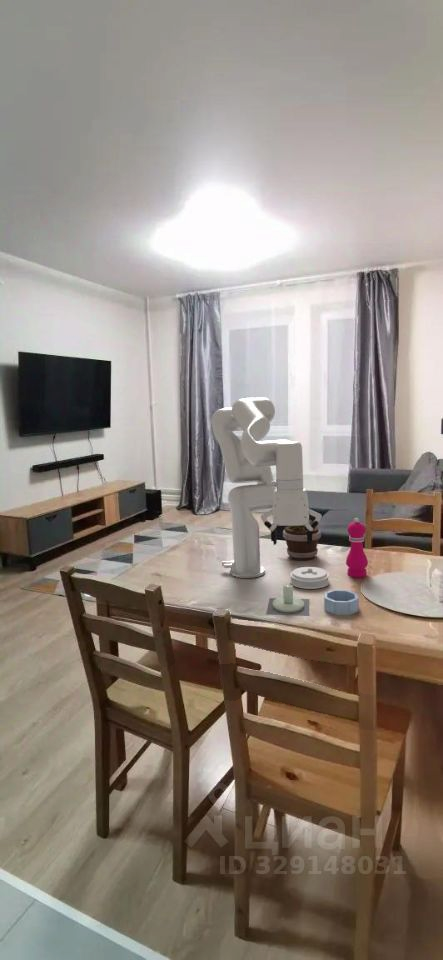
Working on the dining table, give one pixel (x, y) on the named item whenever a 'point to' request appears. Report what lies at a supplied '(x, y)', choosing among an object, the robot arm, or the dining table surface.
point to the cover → (288, 601)
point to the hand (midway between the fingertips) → (291, 543)
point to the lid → (309, 577)
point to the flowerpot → (301, 542)
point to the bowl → (341, 602)
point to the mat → (274, 612)
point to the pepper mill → (356, 550)
